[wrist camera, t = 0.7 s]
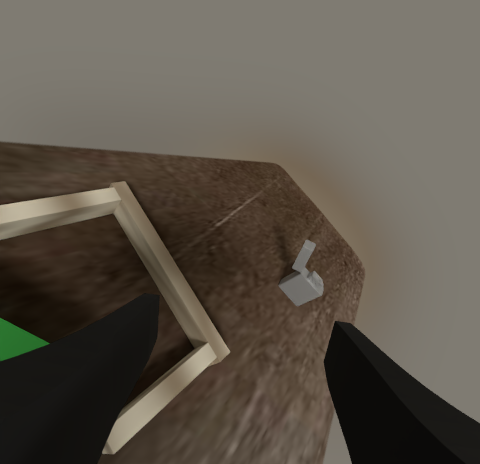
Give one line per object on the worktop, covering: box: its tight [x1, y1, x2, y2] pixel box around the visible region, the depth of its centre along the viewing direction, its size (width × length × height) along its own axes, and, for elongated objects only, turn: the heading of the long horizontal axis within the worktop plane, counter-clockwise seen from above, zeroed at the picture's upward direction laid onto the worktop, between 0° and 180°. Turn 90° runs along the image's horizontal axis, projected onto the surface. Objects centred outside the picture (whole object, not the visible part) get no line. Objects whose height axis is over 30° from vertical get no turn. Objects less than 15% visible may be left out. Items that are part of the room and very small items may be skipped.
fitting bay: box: [0, 181, 230, 454], centre depth 24 cm, size 12×20×2 cm, turn 43°
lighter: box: [279, 240, 324, 306], centre depth 37 cm, size 7×2×8 cm, turn 57°
